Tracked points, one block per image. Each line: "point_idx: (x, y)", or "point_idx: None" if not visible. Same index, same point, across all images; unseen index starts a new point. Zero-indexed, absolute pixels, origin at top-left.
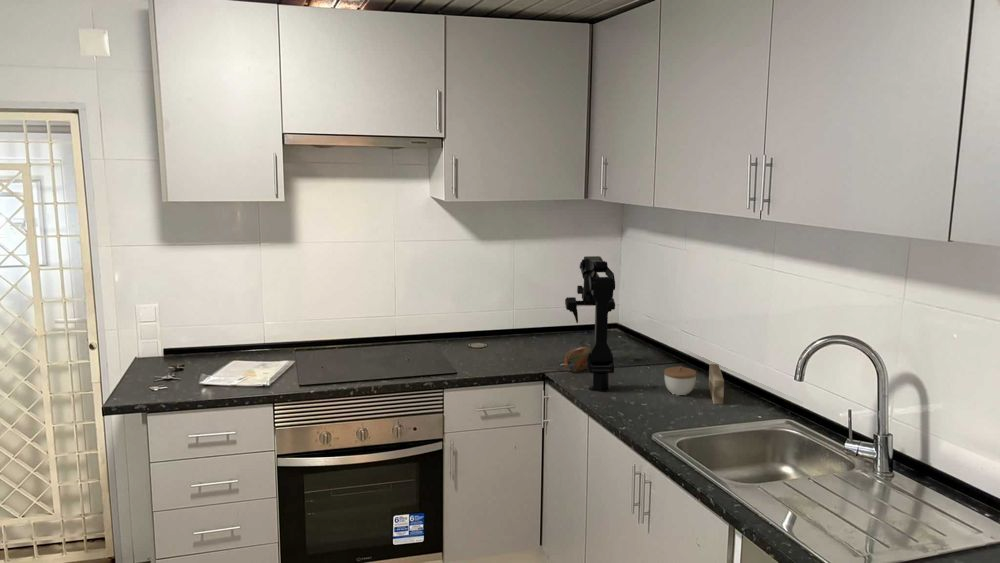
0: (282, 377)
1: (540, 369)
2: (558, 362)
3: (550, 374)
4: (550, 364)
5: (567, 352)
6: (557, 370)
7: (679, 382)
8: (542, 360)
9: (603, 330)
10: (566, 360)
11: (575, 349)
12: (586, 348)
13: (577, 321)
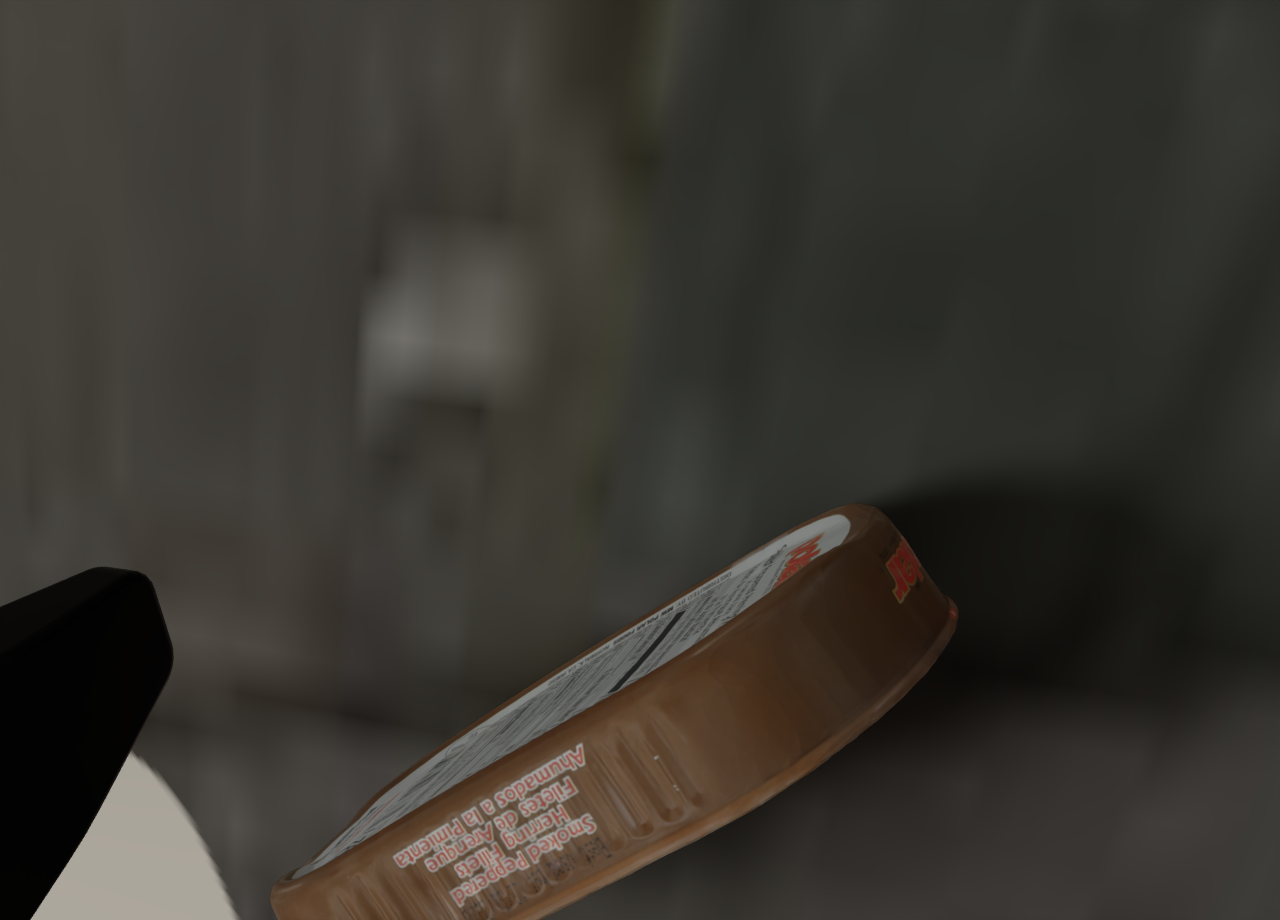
0: None
1: None
2: (348, 212)
3: (211, 827)
4: (220, 324)
5: (281, 912)
6: (309, 665)
7: None
8: (101, 57)
9: None
10: None
11: (425, 876)
12: (687, 810)
13: (92, 783)
